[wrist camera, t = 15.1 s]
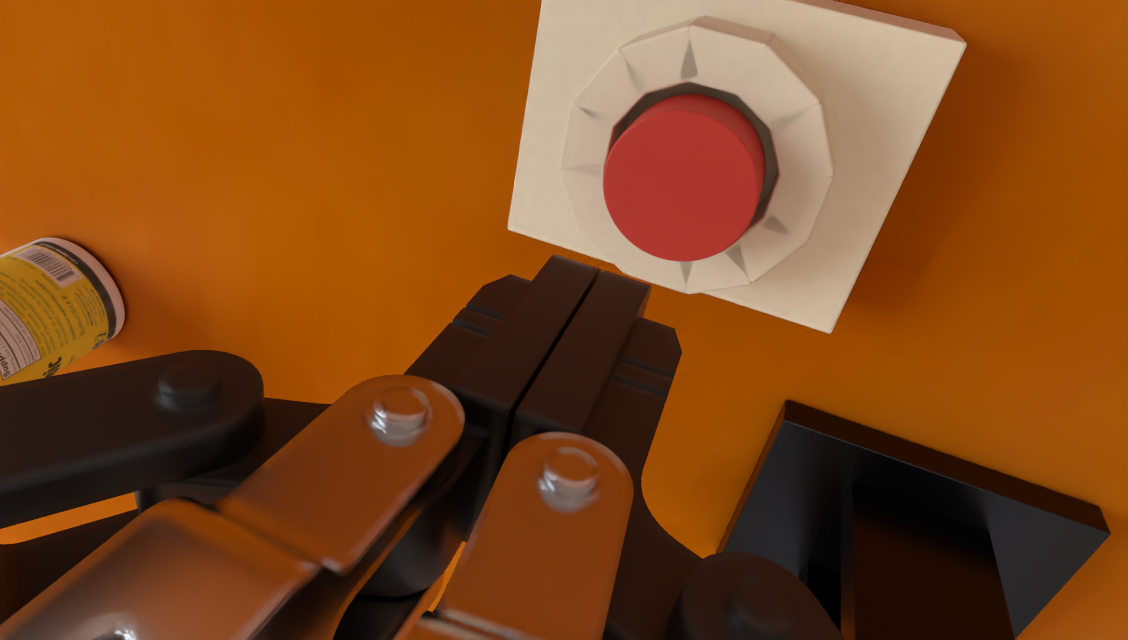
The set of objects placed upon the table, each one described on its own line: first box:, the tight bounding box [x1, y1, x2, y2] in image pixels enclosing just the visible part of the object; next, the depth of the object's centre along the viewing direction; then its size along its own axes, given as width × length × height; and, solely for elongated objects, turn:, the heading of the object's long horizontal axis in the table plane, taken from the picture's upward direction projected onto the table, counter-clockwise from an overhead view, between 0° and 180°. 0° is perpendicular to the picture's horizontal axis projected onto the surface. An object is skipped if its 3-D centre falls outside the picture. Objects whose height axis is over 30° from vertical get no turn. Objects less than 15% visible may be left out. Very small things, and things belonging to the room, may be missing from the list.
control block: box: [508, 0, 967, 334], centre depth 19 cm, size 10×8×4 cm
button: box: [603, 94, 766, 262], centre depth 17 cm, size 4×4×2 cm
